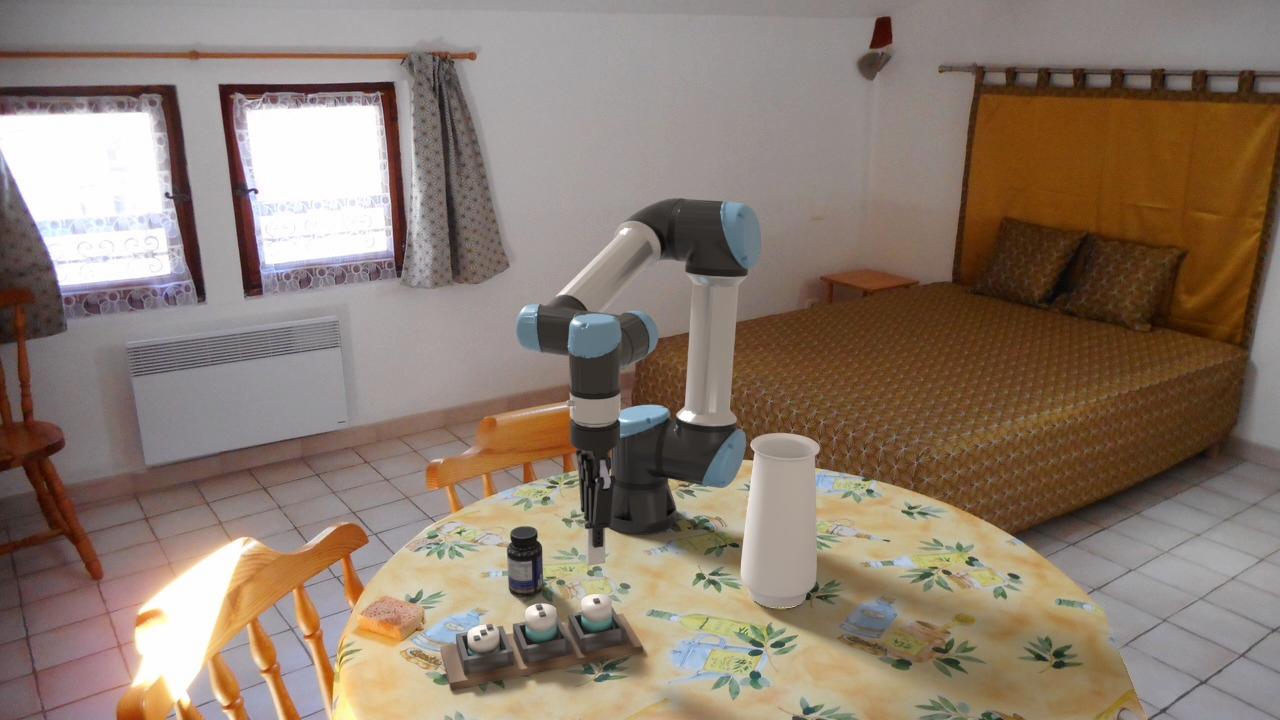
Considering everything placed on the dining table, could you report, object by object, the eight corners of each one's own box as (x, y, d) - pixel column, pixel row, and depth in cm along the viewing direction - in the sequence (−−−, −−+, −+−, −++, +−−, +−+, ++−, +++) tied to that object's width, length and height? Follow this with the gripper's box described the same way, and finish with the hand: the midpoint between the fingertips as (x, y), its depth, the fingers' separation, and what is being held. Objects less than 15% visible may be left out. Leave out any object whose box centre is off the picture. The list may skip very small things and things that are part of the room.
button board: (622, 619, 163) (622, 599, 162) (642, 652, 154) (642, 631, 153) (440, 652, 153) (439, 632, 152) (450, 690, 144) (449, 668, 143)
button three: (496, 645, 153) (495, 620, 152) (503, 662, 149) (501, 636, 148) (466, 650, 152) (464, 625, 151) (471, 668, 148) (470, 642, 146)
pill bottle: (529, 576, 177) (527, 520, 173) (550, 588, 172) (549, 531, 169) (501, 588, 172) (499, 531, 169) (522, 601, 168) (520, 543, 165)
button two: (552, 623, 156) (551, 599, 154) (560, 639, 151) (559, 614, 150) (522, 629, 154) (522, 604, 153) (529, 645, 150) (528, 620, 148)
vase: (743, 572, 178) (749, 428, 170) (816, 580, 176) (825, 434, 167) (735, 610, 166) (741, 456, 158) (813, 618, 163) (823, 463, 155)
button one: (606, 613, 158) (606, 589, 157) (615, 629, 154) (615, 604, 153) (578, 619, 157) (577, 594, 156) (586, 634, 153) (586, 610, 151)
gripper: (559, 407, 150) (561, 546, 157) (582, 436, 138) (583, 586, 145) (606, 402, 152) (606, 540, 159) (632, 431, 141) (631, 578, 147)
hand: (595, 561), depth 152 cm, fingers closed
